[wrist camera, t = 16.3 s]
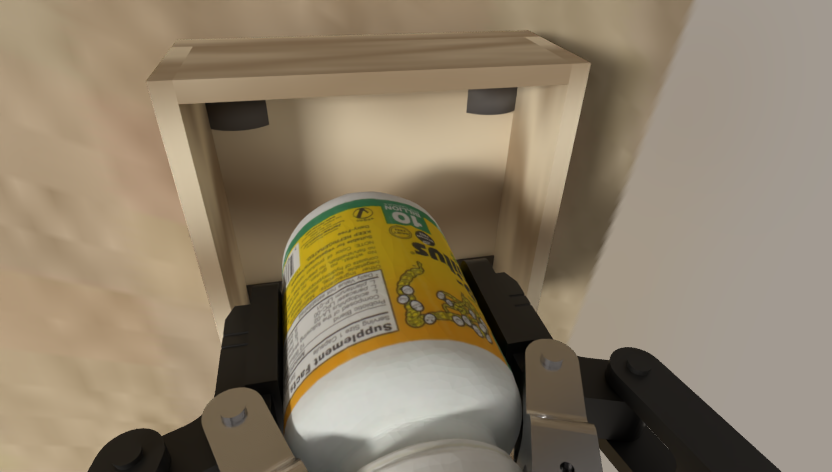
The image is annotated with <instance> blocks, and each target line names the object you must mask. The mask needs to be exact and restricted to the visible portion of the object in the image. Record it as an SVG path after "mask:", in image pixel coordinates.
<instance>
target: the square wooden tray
mask: <svg viewBox="0 0 832 472" xmlns="http://www.w3.org/2000/svg"><path fill="white" fill-rule="evenodd" d="M590 66H591V63H590V62H588V61H586V60H584V59H583V58H581V57H579V56H577V55H575V54H573V53H571V52H569V51H567V50H565V49H563V48H561V47H559V46H557V45H555V44H554V43H552V42H550V41H548V40H546V39H544V38H542V37H540V36H538V35H536V34H534V33H532V32H530V31H528V30H524V31H486V32H448V33H410V34H373V35H335V36H297V37H259V38H221V39H183V40H177V41H176V42H175V43H174V45H173V46H172V47H171V49H170V50H169V51H168V53H167V54H166V55H165V57H164V58H163V59H162V61H161V62H160V63H159V64H158V66H157V67H156V68H155V70H154V71H153V72H152V74H151V75H150V76H149V78H148V79H147V80H146V84H147V88H148V91H149V95H150V98H151V102H152V105H153V109H154V112H155V116H156V119H157V123H158V126H159V130H160V133H161V137H162V140H163V143H164V147H165V150H166V154H167V157H168V161H169V164H170V168H171V171H172V175H173V178H174V182H175V185H176V189H177V192H178V196H179V199H180V203H181V206H182V210H183V213H184V217H185V220H186V224H187V227H188V231H189V234H190V237H191V241H192V244H193V248H194V251H195V255H196V258H197V262H198V265H199V269H200V272H201V276H202V279H203V283H204V286H205V290H206V293H207V297H208V300H209V304H210V307H211V311H212V314H213V318H214V321H215V325H216V328H217V332H218V335H219V338H220V342H221V345H222V338H223V331H224V323H225V319H226V318H227V316H228V315H229V314H230V312H231V311H232V309H233V308H234V306H240V305H248V304H251V292H252V286H256V285H264V284H272V283H279V285H280V290H281V296H282V263H283V256H284V251H285V248H286V245H287V243H288V240H289V238H290V236H291V234H292V233H293V231H294V230H295V228H296V227H297V226H298V224H299V223H300V222H301V221H302V220H303V219H304V218H305V217H306V216H307V215H308V214H309V213H311V212H312V211H313V210H315V209H316V208H317V207H319V206H321V205H322V204H324V203H326V202H328V201H330V200H332V199H334V198H337V197H339V196H342V195H345V194H348V193H357V192H370V191H373V192H382V193H387V194H391V195H394V196H397V197H401V198H404V199H407V200H409V201H412V202H414V203H416V204H418V205H419V206H420V207H422V208H423V209H425V210H426V211H427V212H428V213H429V214H430V215H431V216H432V218H433V219H434V220H435V221H436V223H437V224H438V226H439V228H440V230H441V231H442V233H443V235H444V237H445V239H446V241H447V243H448V245H449V247H450V249H451V251H452V253H453V255H454V257H455V259H456V261H457V263H458V265H459V267H460V266H461V262H462V261H465V260H473V259H481V258H486V259H488V261H489V262H490V264H491V266H492V268H493V269H494V271H495V273H501V272H505V273H506V274H508V275H509V276H510V277H512V278H513V279H514V280H516V281H517V282H518V284H519V285H520V287H521V289H522V290H523V292H524V295H525V296H526V297H527V298H528V300H529V301H530V305H532V306H533V308H534V309H535V311H536V313H537V310H538V305H539V300H540V296H541V291H542V287H543V282H544V277H545V273H546V268H547V264H548V259H549V254H550V250H551V245H552V241H553V236H554V231H555V227H556V222H557V218H558V213H559V208H560V204H561V199H562V195H563V190H564V185H565V181H566V176H567V172H568V167H569V162H570V158H571V153H572V149H573V144H574V139H575V135H576V130H577V126H578V121H579V116H580V112H581V107H582V103H583V98H584V93H585V89H586V84H587V80H588V75H589V70H590Z"/></svg>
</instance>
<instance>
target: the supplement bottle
mask: <svg viewBox="0 0 832 472" xmlns="http://www.w3.org/2000/svg"><path fill="white" fill-rule="evenodd" d="M282 339H283V425H284V439H285V440H286V442H287V444H288V446H289V448H290V450H291V452H292V453H293V455H294V457H295V458H300V459H301V461H302V462H303V464H304V465H305V467H306V469H307V470H308V472H523V470H522V469H521V468H520V467H519V465H518V464H517V463H515V462H514V461H513V459H512V458H511V457H510V456H509V455H510V453H511V452H512V450H513V448H514V446H515V443H516V441H517V438H518V435H519V432H520V427H521V421H522V404H521V398H520V393H519V390H518V387H517V384H516V382H515V379H514V376H513V373H512V371H511V368H510V367H509V365H508V363H507V361H506V359H505V357H504V355H503V354H502V351H501V349H500V347H499V345H498V344H497V342H496V340H495V338H494V336H493V334H492V332H491V330H490V327H489V326H488V324H487V322H486V320H485V318H484V316H483V314H482V312H481V310H480V308H479V306H478V304H477V301H476V299H475V297H474V295H473V293H472V291H471V289H470V287H469V285H468V284H467V282H466V280H465V278H464V275H463V273H462V271H461V269H460V267H459V265H458V263H457V261H456V259H455V257H454V255H453V253H452V251H451V249H450V247H449V245H448V243H447V241H446V239H445V237H444V235H443V233H442V231H441V230H440V228H439V226H438V224H437V223H436V221H435V220H434V219H433V218H432V216H431V215H430V214H429V213H428V212H427V211H426V210H425V209H423V208H422V207H420V206H419V205H418V204H416V203H414V202H412V201H409V200H407V199H404V198H401V197H397V196H394V195H391V194H387V193H382V192H373V191H370V192H357V193H348V194H345V195H342V196H339V197H337V198H334V199H332V200H330V201H328V202H326V203H324V204H322V205H321V206H319V207H317V208H316V209H315V210H313V211H312V212H311V213H309V214H308V215H307V216H306V217H305V218H304V219H303V220H302V221H301V222H300V223H299V224H298V226H297V227H296V228H295V230H294V231H293V233H292V234H291V236H290V238H289V240H288V243H287V245H286V248H285V251H284V256H283V263H282Z"/></svg>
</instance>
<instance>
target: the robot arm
mask: <svg viewBox="0 0 832 472" xmlns="http://www.w3.org/2000/svg"><path fill="white" fill-rule="evenodd" d="M460 269H461V271H462V273H463V275H464V278H465V280H466V282H467V284H468V285H469V287H470V289H471V291H472V293H473V295H474V297H475V299H476V301H477V304H478V306H479V308H480V310H481V312H482V314H483V316H484V318H485V320H486V322H487V324H488V326H489V327H490V330H491V332H492V334H493V336H494V338H495V340H496V342H497V344H498V345H499V347H500V349H501V351H502V354H503V355H504V357H505V359H506V361H507V363H508V365H509V367H510V368H511V371H512V373H513V376H514V379H515V382H516V384H517V387H518V390H519V393H520V398H521V404H522V421H521V427H520V432H519V435H518V438H517V441H516V443H515V446H514V448H513V450H512V452H511V458H512V459H513V461H514V462H515V463H517V464H518V465H519V467H520V468H521V469H522V470H523V472H603V470H602V464H601V456H600V450H601V451H602V452H603V453H604V454H605V456H606V457H607V458H608V459H609V461H610V462H611V463H612V464H613V465H614V466H615V468H616V469H617V470H618V471H619V472H781V471H780V470H779V469H778V468H777V467H776V466H775V465H774V464H772V463H771V462H770V461H769V460H768V459H767V458H766V457H765V456H764V455H763V454H761V453H760V452H759V451H758V450H757V449H756V448H755V447H754V446H752V444H750V443H749V442H748V441H747V440H746V439H745V438H744V437H743V436H742V435H740V434H739V433H738V432H737V431H736V430H735V429H734V428H733V427H732V426H731V425H729V424H728V423H727V422H726V421H725V420H724V419H723V418H722V417H721V416H720V415H718V414H717V413H716V412H715V411H714V410H713V409H712V408H711V407H710V406H709V405H707V404H706V403H705V402H704V401H703V400H702V399H701V398H700V397H699V396H697V395H696V394H695V393H694V392H693V391H692V390H691V389H690V388H689V387H688V386H686V385H685V384H684V383H683V382H682V381H681V380H680V379H679V378H678V377H677V376H675V375H674V374H673V373H672V372H671V371H670V370H669V369H668V368H667V367H666V366H664V365H663V364H662V363H661V362H660V361H659V360H658V359H656V358H655V357H654V356H653V355H651V354H650V353H648V352H646V351H643V350H640V349H637V348H632V347H625V348H620V349H617V350H615V351H614V352H613V353H612V354H611V357H610V360H602V359H593V358H585V357H579V356H577V355H576V354H575V352H574V351H573V350H572V349H571V348H570V347H569V346H567V345H566V344H564V343H562V342H560V341H557V340H553V338H552V337H551V335H550V333H549V332H548V330H547V329H546V327H545V325H544V324H543V322H542V321H541V319H540V317H539V316H538V314H537V313H536V311H535V309H534V308H533V306H532V305H530V301H529V300H528V298H527V297H526V296H525V295H524V292H523V290H522V289H521V287H520V285H519V284H518V282H517V281H516V280H514V279H513V278H512V277H510V276H509V275H508V274H506V273H505V272H501V273H495V271H494V269H493V268H492V266H491V264H490V262H489V261H488V259H486V258H481V259H473V260H465V261H462V262H461V266H460ZM221 347H222V350H221V353H220V361H219V368H218V376H217V383H216V391H215V396H214V398H213V399H212V400H211V401H210V402H209V403H208V404H207V406H206V407H205V409H204V411H203V414H202V415H201V416H200V417H199V418H197V419H196V420H195V421H193V422H191V423H190V424H188V425H186V426H184V427H181V428H179V429H177V430H175V431H172V432H170V433H168V434H166V435H163V436H161V435H160V434H159V433H158V432H156V431H154V430H151V429H144V428H142V429H135V430H130V431H128V432H125V433H123V434H121V435H119V436H117V437H115V438H114V439H112V440H111V441H110V442H108V443H107V444H106V445H105V446H104V447H103V448H102V449H101V450H100V452H99V453H98V454H97V456H96V457H95V459H94V461H93V463H92V465H91V467H90V468H89V470H88V472H308V470H307V469H306V467H305V465H304V464H303V462H302V461H301V459H300V458H295V457H294V455H293V453H292V452H291V450H290V448H289V446H288V444H287V442H286V440H285V439H284V425H283V339H282V296H281V290H280V285H279V283H272V284H264V285H256V286H252V292H251V304H248V305H240V306H234V308H233V309H232V311H231V312H230V314H229V315H228V316H227V318H226V319H225V323H224V331H223V338H222V346H221ZM648 427H649V428H650V429H651V430H652V431H653V432H654V433H653V432H652V431H651V430H650V429H649V428H648ZM664 444H665V445H666V446H667V447H668V448H669V449H668V448H667V447H666V446H665V445H664ZM599 448H600V450H599Z"/></svg>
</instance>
